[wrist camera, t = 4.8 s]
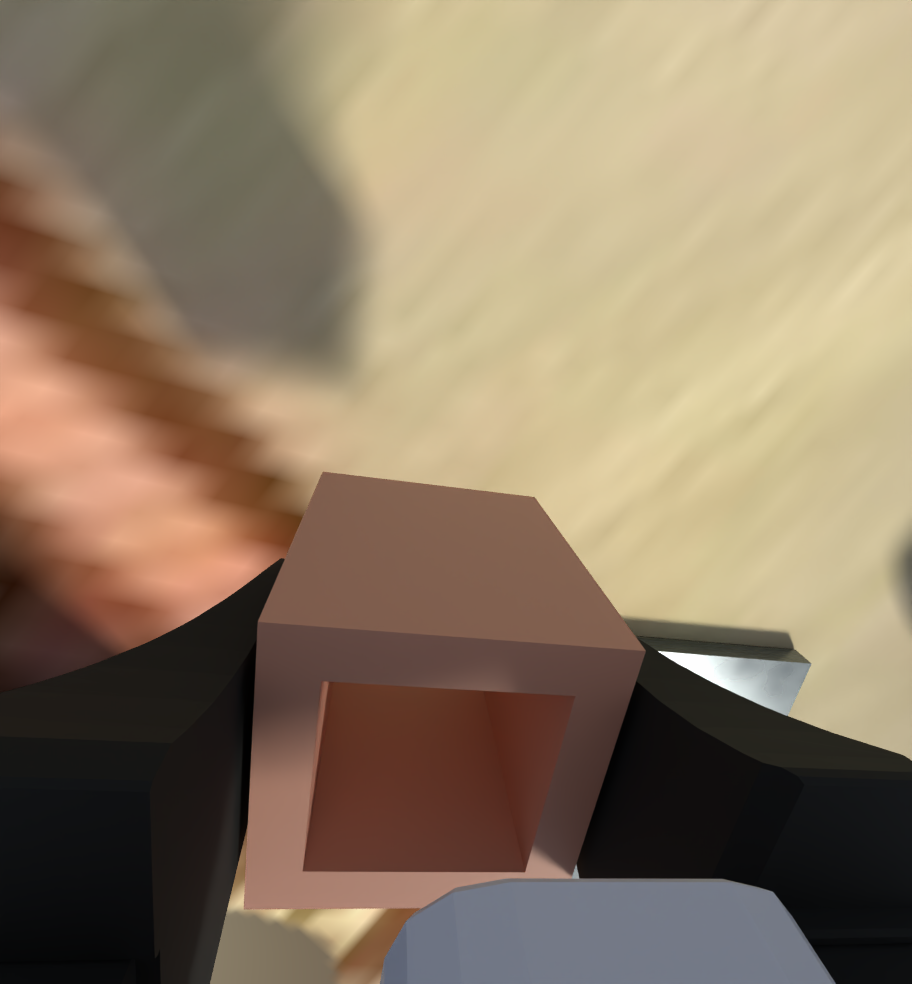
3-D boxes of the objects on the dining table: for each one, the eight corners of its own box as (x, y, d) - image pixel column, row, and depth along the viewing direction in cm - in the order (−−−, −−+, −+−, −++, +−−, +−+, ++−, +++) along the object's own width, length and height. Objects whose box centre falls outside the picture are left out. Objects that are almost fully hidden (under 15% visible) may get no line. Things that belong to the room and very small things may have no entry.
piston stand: (368, 861, 26) (362, 984, 21) (407, 616, 21) (411, 704, 17) (700, 865, 29) (760, 974, 24) (795, 649, 24) (891, 732, 20)
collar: (306, 656, 13) (243, 910, 8) (322, 471, 12) (257, 622, 6) (496, 669, 14) (562, 907, 9) (534, 496, 13) (645, 650, 7)
